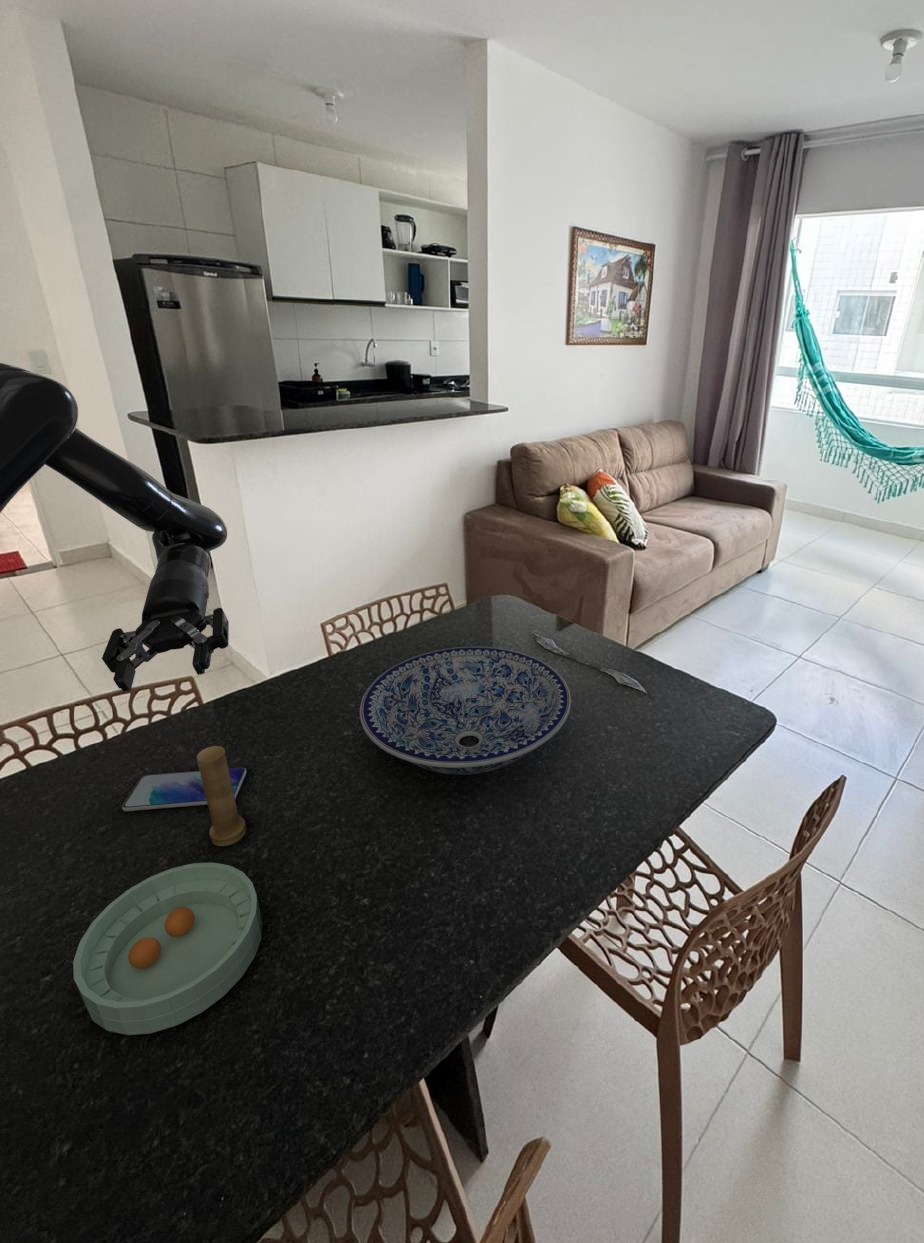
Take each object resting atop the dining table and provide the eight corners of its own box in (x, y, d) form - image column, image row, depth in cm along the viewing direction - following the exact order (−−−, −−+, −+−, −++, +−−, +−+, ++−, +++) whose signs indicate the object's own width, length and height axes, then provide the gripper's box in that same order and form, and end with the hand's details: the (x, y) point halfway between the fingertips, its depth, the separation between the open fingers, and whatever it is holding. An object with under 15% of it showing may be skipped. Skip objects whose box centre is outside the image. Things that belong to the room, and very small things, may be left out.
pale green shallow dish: (48, 992, 67) (34, 961, 65) (194, 871, 81) (186, 843, 79) (159, 1069, 61) (148, 1038, 59) (295, 924, 76) (289, 895, 74)
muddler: (203, 839, 86) (183, 758, 81) (230, 817, 90) (213, 739, 84) (226, 850, 85) (207, 769, 79) (253, 828, 88) (237, 749, 83)
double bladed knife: (534, 633, 144) (521, 641, 140) (535, 631, 143) (521, 639, 140) (657, 685, 127) (645, 696, 123) (657, 682, 127) (645, 693, 123)
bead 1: (125, 967, 69) (118, 949, 68) (151, 944, 72) (145, 926, 71) (143, 979, 68) (137, 961, 67) (169, 955, 71) (164, 937, 69)
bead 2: (161, 935, 73) (155, 918, 72) (185, 914, 75) (180, 897, 74) (179, 946, 72) (174, 928, 70) (202, 924, 74) (198, 907, 73)
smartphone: (141, 774, 96) (247, 766, 98) (142, 779, 96) (248, 771, 99) (119, 808, 89) (233, 799, 92) (120, 813, 89) (234, 803, 92)
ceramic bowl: (509, 668, 130) (510, 626, 126) (607, 767, 104) (612, 718, 100) (339, 718, 112) (333, 670, 108) (407, 852, 86) (403, 796, 82)
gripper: (110, 589, 87) (82, 672, 75) (221, 567, 90) (211, 644, 79) (134, 628, 92) (111, 712, 80) (239, 606, 95) (232, 683, 83)
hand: (161, 678), depth 79 cm, fingers open, 8 cm apart
